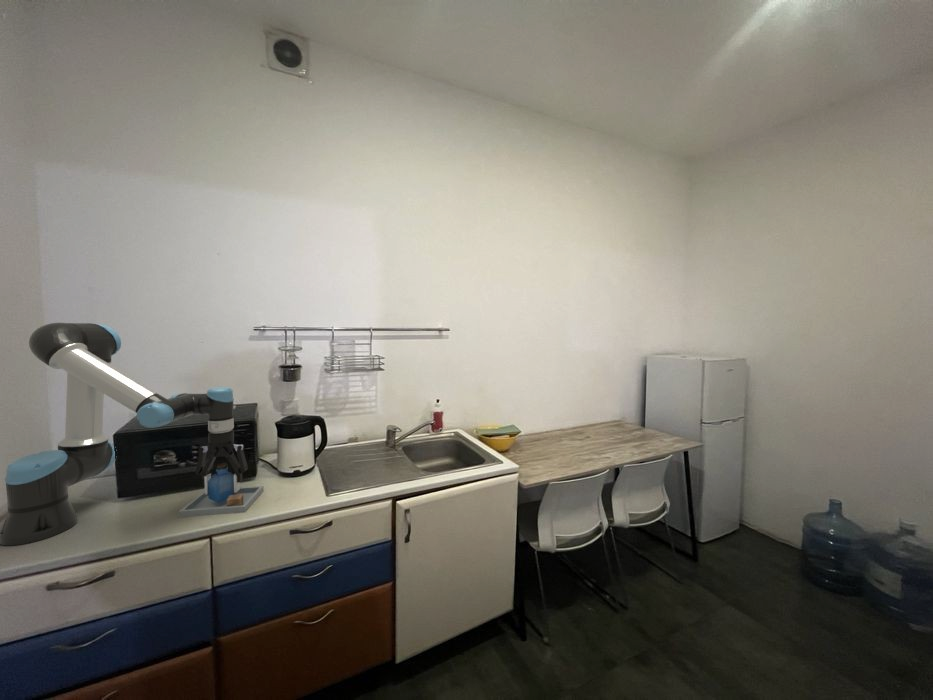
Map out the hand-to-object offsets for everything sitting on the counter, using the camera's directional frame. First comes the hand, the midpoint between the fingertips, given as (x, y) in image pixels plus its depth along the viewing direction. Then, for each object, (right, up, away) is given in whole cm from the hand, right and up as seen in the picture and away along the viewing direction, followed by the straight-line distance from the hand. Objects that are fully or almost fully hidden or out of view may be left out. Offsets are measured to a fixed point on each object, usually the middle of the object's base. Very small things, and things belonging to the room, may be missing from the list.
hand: (222, 491), depth 124 cm
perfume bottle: (0, -2, 0) cm, 2 cm away
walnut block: (+7, -4, -4) cm, 9 cm away
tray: (+1, -4, -1) cm, 5 cm away
